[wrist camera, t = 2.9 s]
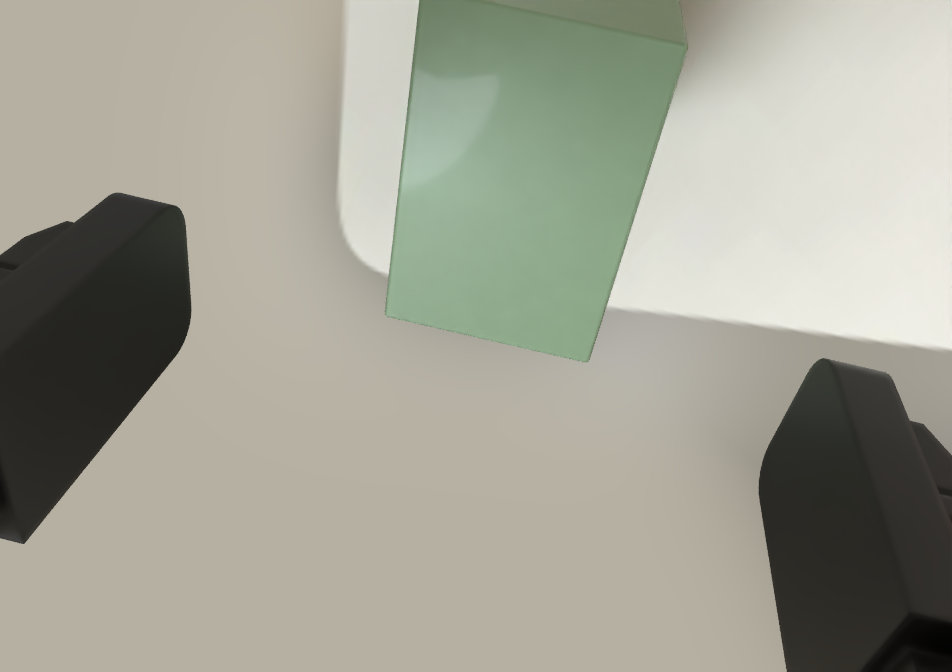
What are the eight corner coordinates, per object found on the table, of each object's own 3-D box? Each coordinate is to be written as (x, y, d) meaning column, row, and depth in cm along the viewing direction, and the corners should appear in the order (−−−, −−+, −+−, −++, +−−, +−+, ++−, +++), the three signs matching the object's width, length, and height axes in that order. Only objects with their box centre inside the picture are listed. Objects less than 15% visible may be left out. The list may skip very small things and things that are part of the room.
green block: (482, 105, 25) (383, 317, 15) (518, -111, 21) (419, -13, 12) (607, 132, 25) (588, 365, 15) (665, -80, 21) (689, 45, 11)
